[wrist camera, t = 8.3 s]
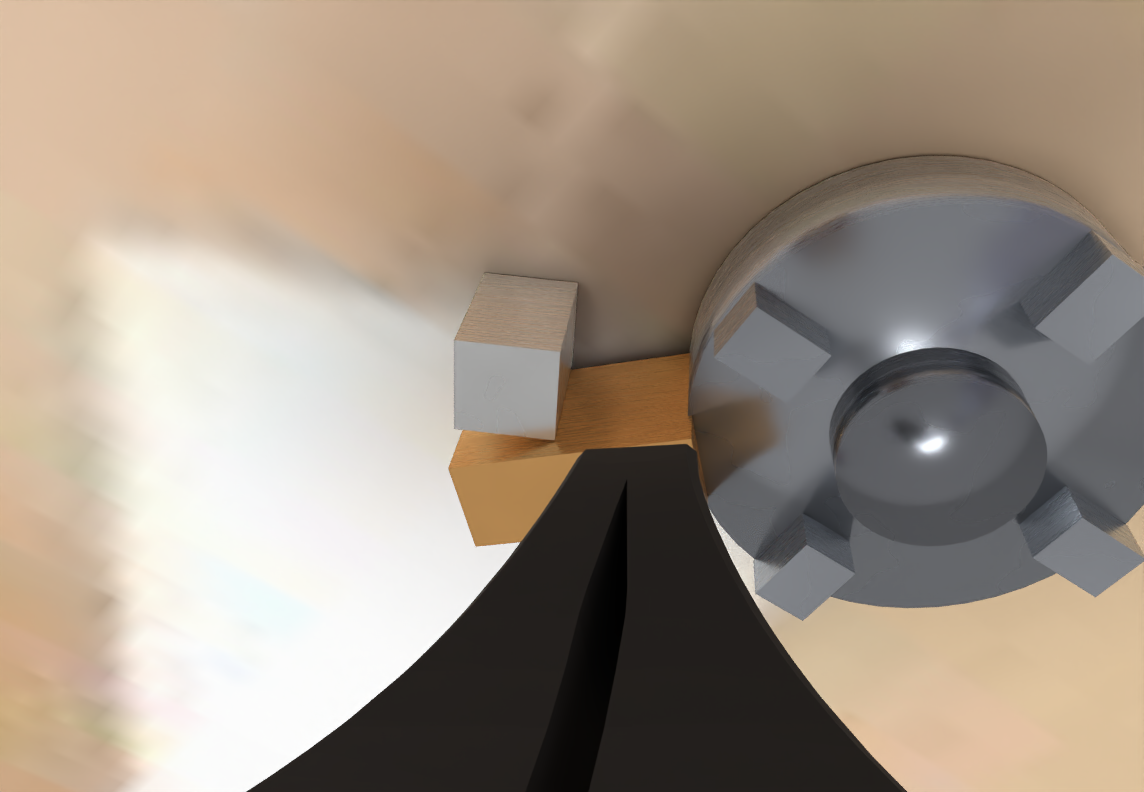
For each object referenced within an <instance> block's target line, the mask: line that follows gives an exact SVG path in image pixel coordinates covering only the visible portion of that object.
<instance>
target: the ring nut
mask: <svg viewBox="0 0 1144 792" xmlns="http://www.w3.org/2000/svg"><path fill="white" fill-rule="evenodd" d="M674 444H688V445H689V446H690V447H691V448H693V449H694V450H695V451H697V458H698V468H699V478H700V482H701V486H702V489H703V493H704V496H705V499H706V501H707V504H708V507H709V509H710V510H711V512H712V513H713V515H714V516H715V518H716V519H717V521H718V522H719V524H720V525H721V526H722V527H723V529H724V530H725V531H726V532H727V533H728V534H729V535H730V537H731V538H732V539H733V540H734V541H735V542H736V543H737V544H738V545H739V546H740V547H741V548H742V549H744V550H745V551H746V552H747V553H748V554H749V555H751V556H752V557H753V558H754V559H755V560H754V578H755V594H757V595H759V596H761V597H762V598H764V599H766V600H768V601H769V602H771V603H773V604H775V605H776V606H778V607H780V608H781V609H783V610H785V611H787V612H788V613H790V614H792V615H794V616H795V617H797V618H799V619H801V620H802V621H803V620H804V619H805V618H806V617H808V616H809V615H810V614H811V613H812V612H813V611H814V610H815V609H817V608H818V607H819V606H820V605H821V604H822V603H823V602H824V601H825V600H827V599H828V598H829V597H834V598H838V599H842V600H846V601H849V602H854V603H861V604H867V605H874V606H882V607H899V608H923V607H941V606H949V605H956V604H964V603H969V602H974V601H978V600H983V599H987V598H992V597H996V596H999V595H1002V594H1005V593H1008V592H1012V591H1015V590H1018V589H1021V588H1024V587H1026V586H1029V585H1031V584H1033V583H1036V582H1038V581H1040V580H1043V579H1045V578H1047V577H1050V576H1052V575H1054V574H1055V573H1058V574H1059V575H1061V576H1062V577H1064V578H1066V579H1067V580H1069V581H1070V582H1072V583H1074V584H1075V585H1077V586H1078V587H1080V588H1082V589H1083V590H1085V591H1086V592H1088V593H1089V594H1091V595H1093V596H1094V597H1096V596H1098V595H1099V594H1100V593H1102V592H1103V591H1104V590H1106V589H1107V588H1108V587H1110V586H1111V585H1112V584H1114V583H1115V582H1117V581H1118V580H1119V579H1121V578H1122V577H1123V576H1125V575H1126V574H1127V573H1129V572H1130V571H1131V570H1133V569H1134V568H1135V567H1137V566H1138V565H1139V564H1141V563H1142V562H1143V561H1144V554H1143V553H1142V551H1141V549H1140V547H1139V545H1138V544H1137V542H1136V540H1135V538H1134V537H1133V535H1132V533H1131V531H1130V529H1129V528H1128V526H1127V525H1126V523H1127V522H1128V521H1129V520H1130V519H1131V518H1132V517H1133V515H1134V514H1135V513H1136V512H1137V511H1138V510H1139V509H1140V508H1141V507H1142V506H1143V505H1144V267H1142V266H1141V265H1139V264H1138V263H1137V262H1135V261H1134V260H1133V259H1132V258H1131V257H1130V256H1129V255H1128V253H1127V252H1126V251H1125V250H1124V249H1123V248H1122V247H1121V246H1120V244H1119V243H1118V242H1117V241H1116V240H1115V239H1114V238H1113V237H1112V235H1111V234H1110V233H1109V232H1108V231H1107V230H1106V229H1105V228H1104V226H1103V225H1102V224H1101V223H1100V222H1099V221H1098V220H1097V218H1096V217H1095V216H1094V215H1093V214H1092V213H1091V212H1089V211H1088V210H1087V209H1086V208H1085V207H1084V206H1082V205H1081V204H1080V203H1079V202H1078V201H1077V200H1075V199H1074V198H1073V197H1072V196H1070V195H1069V194H1067V193H1066V192H1064V191H1062V190H1061V189H1059V188H1058V187H1056V186H1054V185H1053V184H1051V183H1049V182H1048V181H1046V180H1044V179H1041V178H1039V177H1037V176H1034V175H1032V174H1030V173H1027V172H1025V171H1023V170H1020V169H1018V168H1014V167H1011V166H1007V165H1003V164H1000V163H996V162H992V161H989V160H981V159H974V158H967V157H959V156H918V157H909V158H900V159H892V160H887V161H883V162H879V163H874V164H870V165H866V166H862V167H858V168H855V169H853V170H850V171H847V172H844V173H842V174H839V175H836V176H833V177H831V178H828V179H826V180H824V181H822V182H820V183H818V184H816V185H814V186H812V187H810V188H808V189H806V190H804V191H802V192H800V193H799V194H797V195H796V196H794V197H793V198H791V199H790V200H788V201H787V202H785V203H783V204H782V205H780V206H779V207H777V208H776V209H774V210H773V211H772V212H771V213H770V214H768V215H767V216H766V217H765V218H764V219H763V220H761V221H760V222H759V223H758V224H757V225H756V226H754V227H753V228H752V229H751V230H750V231H749V232H748V233H747V234H746V235H745V236H744V238H743V239H742V240H741V241H740V242H739V243H738V244H737V245H736V246H735V247H734V249H733V250H732V251H731V252H730V253H729V255H728V256H727V258H726V259H725V261H724V262H723V264H722V265H721V266H720V268H719V269H718V271H717V272H716V274H715V275H714V277H713V279H712V281H711V283H710V285H709V287H708V289H707V291H706V293H705V295H704V297H703V299H702V302H701V305H700V308H699V311H698V314H697V316H696V319H695V322H694V328H693V333H692V338H691V343H690V353H687V354H680V355H673V356H666V357H658V358H651V359H644V360H637V361H630V362H623V363H616V364H608V365H601V366H594V367H587V368H580V369H573V370H571V372H570V376H569V381H568V385H567V389H566V394H565V398H564V402H563V407H562V411H561V415H560V420H559V424H558V428H557V433H556V437H555V440H546V439H538V438H529V437H521V436H512V435H504V434H495V433H487V432H478V431H469V430H463V431H462V433H461V436H460V439H459V441H458V444H457V447H456V449H455V452H454V455H453V457H452V460H451V463H450V465H449V468H448V469H449V472H450V475H451V478H452V480H453V483H454V486H455V489H456V492H457V495H458V497H459V500H460V503H461V506H462V509H463V512H464V515H465V517H466V520H467V523H468V526H469V529H470V532H471V535H472V537H473V540H474V543H475V546H486V545H496V544H506V543H515V542H521V541H522V540H523V538H524V537H525V536H526V534H527V533H528V532H529V530H530V529H531V528H532V526H533V525H534V523H535V522H536V521H537V519H538V518H539V516H540V515H541V514H542V512H543V511H544V509H545V508H546V506H547V505H548V503H549V502H550V500H551V499H552V497H553V496H554V494H555V493H556V491H557V490H558V488H559V487H560V485H561V484H562V482H563V481H564V479H565V477H566V476H567V474H568V473H569V471H570V469H571V468H572V466H573V465H574V463H575V461H576V460H577V458H578V457H579V456H580V455H581V454H582V453H583V452H584V451H585V450H586V449H602V448H620V447H638V446H656V445H674Z"/></svg>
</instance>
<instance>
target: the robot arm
mask: <svg viewBox="0 0 1144 792" xmlns="http://www.w3.org/2000/svg"><path fill="white" fill-rule="evenodd" d="M247 792H907V791H906V790H905V789H904V788H903V787H902V786H901V785H900V784H899V783H898V782H897V781H896V780H895V779H894V778H893V777H892V776H891V775H890V774H889V773H888V772H887V771H886V770H885V769H884V768H883V767H882V766H881V765H880V764H879V763H878V762H877V761H876V760H875V759H874V758H873V757H872V755H871V754H870V753H869V752H868V751H867V750H866V749H865V747H864V746H863V745H862V744H861V743H860V742H859V741H858V739H857V738H856V737H855V736H854V735H853V734H852V732H851V731H850V730H849V729H848V728H847V727H846V726H845V724H844V723H843V722H842V721H841V720H840V719H839V718H838V716H837V715H836V714H835V713H834V712H833V711H832V709H831V708H830V707H829V706H828V705H827V704H826V703H825V701H824V700H823V699H822V698H821V697H820V695H819V694H818V693H817V692H816V690H815V689H814V688H813V686H812V685H811V684H810V682H809V681H808V680H807V678H806V677H805V676H804V674H803V673H802V672H801V671H800V669H799V668H798V667H797V665H796V664H795V663H794V661H793V660H792V658H791V657H790V655H789V654H788V653H787V651H786V650H785V648H784V647H783V645H782V644H781V643H780V641H779V640H778V638H777V637H776V635H775V634H774V632H773V631H772V629H771V628H770V626H769V625H768V623H767V621H766V620H765V618H764V617H763V615H762V613H761V612H760V610H759V608H758V607H757V605H756V603H755V602H754V600H753V598H752V596H751V595H750V593H749V591H748V589H747V588H746V586H745V584H744V582H743V581H742V579H741V577H740V575H739V573H738V571H737V569H736V567H735V566H734V564H733V562H732V560H731V558H730V556H729V553H728V551H727V549H726V547H725V545H724V543H723V540H722V538H721V536H720V534H719V532H718V530H717V527H716V525H715V523H714V520H713V518H712V515H711V513H710V510H709V507H708V504H707V501H706V499H705V496H704V493H703V489H702V486H701V482H700V478H699V468H698V458H697V451H695V450H694V449H693V448H691V447H690V446H689V445H688V444H674V445H656V446H638V447H620V448H602V449H586V450H585V451H584V452H583V453H582V454H581V455H580V456H579V457H578V458H577V460H576V461H575V463H574V465H573V466H572V468H571V469H570V471H569V473H568V474H567V476H566V477H565V479H564V481H563V482H562V484H561V485H560V487H559V488H558V490H557V491H556V493H555V494H554V496H553V497H552V499H551V500H550V502H549V503H548V505H547V506H546V508H545V509H544V511H543V512H542V514H541V515H540V516H539V518H538V519H537V521H536V522H535V523H534V525H533V526H532V528H531V529H530V530H529V532H528V533H527V534H526V536H525V537H524V538H523V540H522V541H521V542H520V544H519V545H518V547H517V548H516V549H515V551H514V552H513V553H512V555H511V556H510V557H509V559H508V560H507V561H506V562H505V564H504V565H503V566H502V568H501V569H500V570H499V571H498V572H497V574H496V575H495V576H494V577H493V578H492V579H491V581H490V582H489V583H488V584H487V585H486V587H485V588H484V589H483V590H482V591H481V593H480V594H479V595H478V596H477V597H476V599H475V600H474V601H473V602H472V603H471V605H470V606H469V607H468V608H467V609H466V610H465V611H464V613H463V614H462V615H461V616H460V617H459V618H458V619H457V620H456V621H455V622H454V623H453V625H452V626H451V627H450V628H449V629H448V630H447V631H446V632H445V633H444V634H443V635H442V636H441V637H440V638H439V639H438V640H437V641H436V642H435V643H434V644H433V645H432V646H431V647H430V648H429V649H428V650H427V651H426V652H425V653H424V654H423V655H422V656H421V657H420V658H419V659H418V660H417V661H416V662H415V663H414V664H413V665H412V666H411V667H410V668H409V669H408V670H406V671H405V672H404V673H403V674H402V675H401V676H400V677H399V678H397V679H396V680H395V681H394V682H393V683H391V684H390V685H389V686H388V687H387V688H386V689H384V690H383V691H382V692H381V693H380V694H378V695H377V696H376V697H375V698H374V699H372V700H371V701H370V702H369V703H368V704H367V705H365V706H364V707H363V708H362V709H361V710H359V711H358V712H357V713H356V714H355V715H353V716H352V717H351V718H350V719H349V720H347V721H346V722H345V723H344V724H342V725H341V726H340V727H338V728H337V729H336V730H334V731H333V732H332V733H330V734H329V735H328V736H326V737H325V738H324V739H322V740H321V741H320V742H318V743H317V744H315V745H314V746H313V747H311V748H310V749H309V750H307V751H306V752H304V753H303V754H302V755H300V756H299V757H297V758H296V759H294V760H293V761H291V762H290V763H289V764H287V765H286V766H284V767H283V768H281V769H280V770H279V771H277V772H276V773H274V774H273V775H271V776H270V777H268V778H267V779H265V780H264V781H262V782H261V783H259V784H258V785H256V786H255V787H253V788H251V789H250V790H248V791H247Z"/></svg>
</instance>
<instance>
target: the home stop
mask: <svg viewBox="0 0 1144 792" xmlns="http://www.w3.org/2000/svg"><path fill="white" fill-rule="evenodd" d="M577 291H578V283H576V282H566V281H557V280H547V279H538V278H529V277H519V276H510V275H500V274H491V273H484V275H483V277H482V280H481V282H480V284H479V286H478V288H477V291H476V293H475V295H474V297H473V299H472V302H471V304H470V306H469V308H468V311H467V313H466V315H465V317H464V319H463V322H462V324H461V326H460V328H459V330H458V333H457V335H456V337H455V339H454V429H461V430H469V431H478V432H487V433H495V434H504V435H512V436H521V437H529V438H538V439H546V440H555V437H556V433H557V428H558V424H559V420H560V415H561V411H562V407H563V402H564V398H565V394H566V389H567V385H568V381H569V376H570V372H571V368H572V361H573V347H574V333H575V319H576V305H577Z"/></svg>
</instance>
